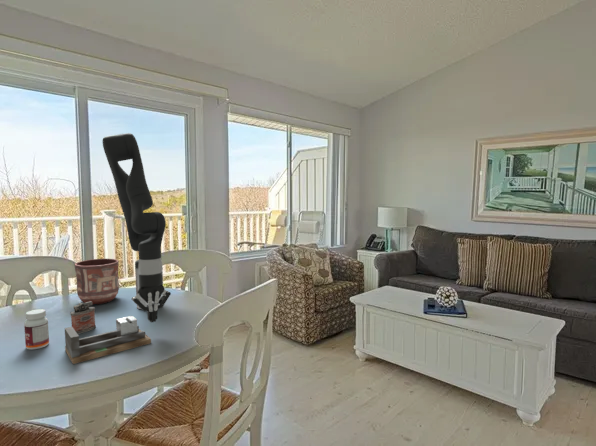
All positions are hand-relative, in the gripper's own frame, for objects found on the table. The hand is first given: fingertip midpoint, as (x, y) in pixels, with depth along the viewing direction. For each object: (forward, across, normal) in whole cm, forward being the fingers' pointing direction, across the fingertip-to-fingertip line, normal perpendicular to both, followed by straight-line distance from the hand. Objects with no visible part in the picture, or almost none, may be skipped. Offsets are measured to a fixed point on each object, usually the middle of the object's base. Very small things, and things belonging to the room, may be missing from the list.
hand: (152, 321), depth 125 cm
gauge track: (+5, +14, 0) cm, 15 cm away
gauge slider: (+3, +8, +1) cm, 9 cm away
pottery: (+5, +4, -57) cm, 57 cm away
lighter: (+5, +17, -21) cm, 27 cm away
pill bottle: (+5, +31, -16) cm, 35 cm away
